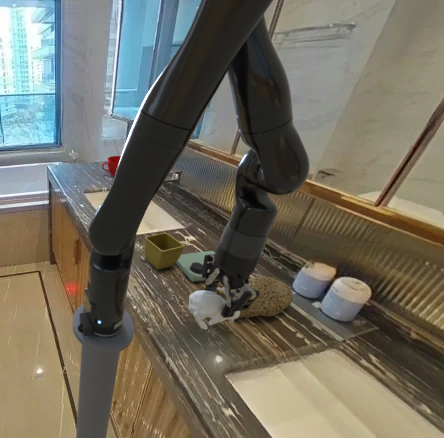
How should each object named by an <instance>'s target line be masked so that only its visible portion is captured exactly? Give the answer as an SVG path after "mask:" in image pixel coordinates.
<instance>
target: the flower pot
mask: <svg viewBox="0 0 444 438" xmlns="http://www.w3.org/2000/svg"><path fill="white" fill-rule="evenodd" d="M185 247H186V246H185V244H183V243H182V242H180V240H178V239H176V238H174V236H173V235H170V234H169V233H168V232H161V233H157V234H153V235H147V236H145V237H144V254H145V257H146V259H147V261H148V262H149V264H151V265H152V266H153V267H154V268H155V269H157V270H158V271H159V270H163V269H166V268H170V267H172V266H173V265H175V264H176V262H177V261H178V259H179V258H180V256H181V254H183V251H184V249H185Z"/></svg>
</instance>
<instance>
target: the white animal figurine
mask: <svg viewBox="0 0 444 438" xmlns="http://www.w3.org/2000/svg"><path fill="white" fill-rule="evenodd" d="M204 290H205V289H204ZM204 290H202V289H200V290H195V291H194V292H192V293H190V294H189V295H188V299H189V300H188V310H189V311H190V314H191V315H192V316H193V318H194V320H195V322H197V325H198V326H199V327H200V328H202V329H203V330H205V331H206V330H208V328H209V327H208V326H214V325H215V324H219V323H222V322H224V321H226V320H227V321H228V323H229V324H228V325H230V324H231V323H235V320H237V319H238V318H240V317H239V315H240V311H236V312H235V314H234V316H233V317H228V318H223V317H222V316H221V313H222V311H223V308H224V306H225V304H226V300H225V299H223V298H222V297H221V296H219V295H218V294H216V293H215V292H211V291H204ZM207 318H210V319H209V321H208V325H207V323H206V321H205V319H207Z"/></svg>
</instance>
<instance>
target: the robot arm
mask: <svg viewBox="0 0 444 438" xmlns="http://www.w3.org/2000/svg"><path fill="white" fill-rule="evenodd" d="M273 1H274V0H201V1H200V3H199V6H198V8H197V11H196V12H195V15H194V17H193V19H192V22H191V25H190V27H189V29H188V31H187V33H186V35H185V37H184V39H183V40H182V43H181V44H180V46H179V47H178V49H177V50H176V52H175V53H174V54H173V56H172V57H171V59H170V60H169V62H168V63H167V64H166V66H165V67H164V68H163V69H162V70H161V72H160V74H159V75H158V76H157V78H156V79H155V81H154V82H153V84H152V86H151V87H150V89H149V90H148V92H147V93H146V95H145V97H144V99H143V101H142V102H141V105H140V107H139V109H138V112H137V114H136V116H135V119H134V120H133V123H132V125H131V127H130V130H129V133H128V135H127V138H126V141H125V143H124V146H123V150H122V152H121V155H120V156H121V158H120V161H119V164H118V168H117V171H116V174H115V177H114V178H113V181H112V184H111V186H110V189H109V191H108V193H107V195H106V196H105V198H104V200H103V202H102V203H100V205H98V207H97V209H96V210H95V212H94V214H93V216H92V218H91V219H90V222H89V225H88V229H87V234H88V235H87V236H88V240H89V241H88V242H89V243H90V245H91V249H90V254H89V257H88V268H87V269H88V270H87V284H86V288H84V291H83V304H84V305H83V304H82V305H83V313H80V325H79V326H78V331H79V332H81V333H83V334H84V336H89V335H96V336H98V337H102V338H111V337H114V336H116V335H117V334H119V333H120V331H121V329H122V324H123V315H124V309H125V307H126V301H127V296H128V290H129V289H128V287H129V281H130V276H131V271H132V264H133V259H134V253H135V246H136V239H137V233H138V230H139V229H140V226H141V224H142V221H143V219H144V216H145V214H146V213H147V210H148V208H149V205H150V204H151V202H152V200H153V199H154V197H155V196H156V194H157V192H159V190H160V189H161V187H162V186H163V184H164V182H165V181H166V180H167V178H168V176H169V175H170V173H171V172H172V170H173V168H174V167H175V165H176V164H177V162H178V161H179V159H180V157H181V155H182V154H183V152H184V151H185V149H186V148H187V146H188V144H189V142H190V140H191V139H192V137H193V135H194V133H195V132H196V130H197V127H198V126H199V124H200V122H201V120H202V118H203V116H204V114H205V112H206V110H207V109H208V107H209V105H210V104H211V102H212V101H213V98H214V97H215V95H216V94H217V91H218V90H219V87H220V86H221V84H222V82H223V80H224V79H225V77H226V75H227V79H228V83H229V86H230V91H231V96H232V101H233V106H234V112H235V117H236V122H237V128H238V132H239V133H238V134H239V137H240V140H241V141H242V142H243V144H244V145H246V146H247V147H249V148H250V149H248V150H247V151H246V152H245V153H244V155H242V157H241V159H240V161H239V162H238V164H237V167H236V173H235V178H234V179H235V180H234V205H233V208H232V210H231V213H230V215H229V218H228V221H227V224H226V225H225V227H224V229H223V231H222V234H221V236H220V239H219V242H218V245H217V249H216V251H215V254H209V255H205V256H204V263H203V269H202V277H203V278H205V279H206V280H205V287H204V291H211V292H215V291H216V289H217V287H218V284H219V283H220V284H221V285H222V287H224V294H225V295H226V304H225V306H224V308H223V311H222V313H221V316H222V317H223V318H228V317H233V316H234V314H235V312H236V311H242V310H247V309H248V308H249V307H250V306H251V305H252V304H253V302H254V301H255V300H256V299H257V298H258V297H259V295H260V293H259V291H258V290H253V289H252V288H251V287H250V286H249V285H248V284H249V279H250V276H251V275H252V274H253V273H254V272H255V270H256V267H258V266H257V265H258V263H259V262H260V259H261V256H262V255H263V252H264V250H265V248H266V245H267V243H268V238H269V235H270V234H271V230H272V229H273V225H274V224H275V222H276V219H277V217H278V214H279V208H278V205H277V204H276V203H275V202H274V201H273V200H272V199H271V197H270V195H269V194H271V195H274V196H287V195H290V194H293V193H295V192H297V191H298V190H299V189H300V188H302V187H303V185H304V184H305V183H306V181H307V179H308V177H309V174H310V167H311V166H310V159H309V155H308V152H307V150H306V147H305V145H304V144H303V143H304V142H303V141H302V138H301V137H300V134H299V132H298V130H297V129H296V127H295V125H294V114H293V102H292V93H291V92H292V91H291V87H290V81H289V79H288V75H287V72H286V70H285V67H284V65H283V63H282V61H281V59H280V57H279V55H278V53H277V50H276V48H275V46H274V43H273V41H272V39H271V36H270V33H269V29H268V26H267V22H266V16H265V13H266V12H267V10H268V9H269V8H270V6H271V5H272V3H273ZM208 269H209V272H208ZM235 289H236V290H235ZM231 290H235V291H231ZM233 297H234V300H233ZM81 328H82V329H81Z"/></svg>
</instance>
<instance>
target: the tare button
mask: <svg viewBox="0 0 444 438" xmlns="http://www.w3.org/2000/svg"><path fill="white" fill-rule="evenodd" d="M190 269H191V271H192V272H194V273H196V274H202V269H203V265H202V264H201V263H197V262H194V263H192V265H191V268H190Z"/></svg>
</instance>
